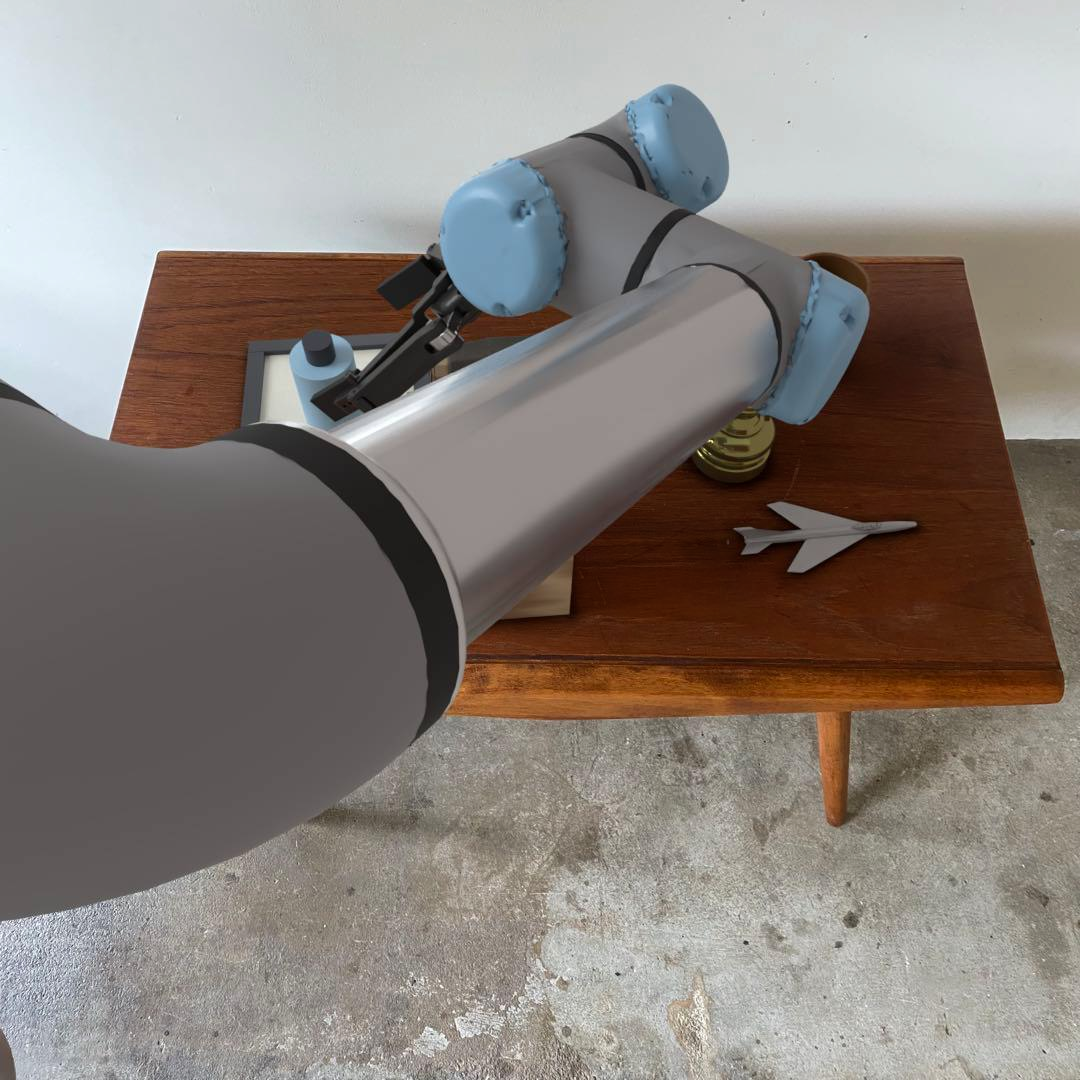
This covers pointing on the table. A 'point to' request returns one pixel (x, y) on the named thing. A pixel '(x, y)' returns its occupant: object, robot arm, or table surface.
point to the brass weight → (738, 448)
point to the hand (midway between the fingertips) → (357, 351)
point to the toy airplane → (815, 534)
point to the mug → (844, 269)
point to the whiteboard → (274, 384)
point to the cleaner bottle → (320, 372)
